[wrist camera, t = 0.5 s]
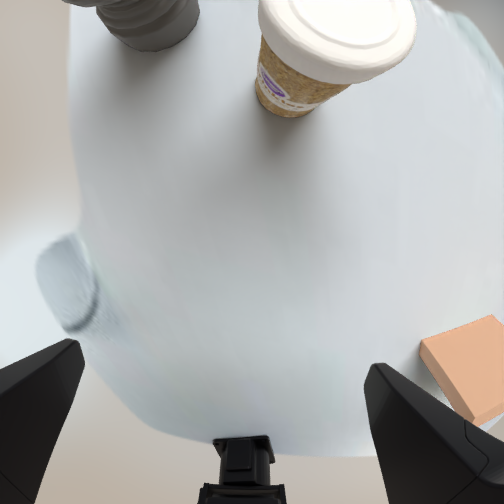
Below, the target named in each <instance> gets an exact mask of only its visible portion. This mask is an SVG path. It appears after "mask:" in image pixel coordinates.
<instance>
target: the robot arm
mask: <svg viewBox="0 0 504 504" xmlns="http://www.w3.org/2000/svg"><path fill="white" fill-rule="evenodd" d="M84 367H85V360H84V357H83V353H82V350H81V346H80V343H79V342H78V341H77V340H73V339H69V338H67V339H64V340H62V341H60V342H58V343H56V344H54V345H51V346H49V347H47V348H45V349H43V350H41V351H38V352H37V353H34V354H32V355H30V356H28V357H26V358H24V359H21V360H19V361H17V362H15V363H13V364H11V365H8V366H6V367H4V368H2V369H0V504H34V503H35V500H36V497H37V494H38V491H39V488H40V485H41V482H42V479H43V476H44V473H45V470H46V467H47V465H48V462H49V459H50V457H51V454H52V452H53V449H54V446H55V444H56V441H57V439H58V436H59V434H60V431H61V429H62V427H63V424H64V422H65V420H66V417H67V415H68V413H69V410H70V408H71V405H72V403H73V400H74V397H75V394H76V391H77V388H78V384H79V382H80V379H81V376H82V373H83V370H84ZM364 394H365V400H366V405H367V412H368V418H369V424H370V430H371V434H372V438H373V441H374V445H375V449H376V452H377V456H378V460H379V464H380V468H381V472H382V476H383V480H384V484H385V488H386V492H387V497H388V501H389V504H504V442H502V441H501V440H499V439H497V438H495V437H493V436H492V435H489V434H488V433H486V432H485V431H483V430H482V429H480V428H478V427H477V426H475V425H474V424H472V423H471V422H469V421H468V420H467V419H464V418H463V417H462V416H461V415H459V414H458V413H456V412H455V411H453V410H452V409H450V408H449V407H448V406H446V405H445V404H443V403H442V402H440V401H439V400H437V399H436V398H435V397H433V396H432V395H430V394H429V393H427V392H426V391H424V390H423V389H422V388H420V387H419V386H417V385H416V384H414V383H413V382H412V381H410V380H409V379H407V378H406V377H404V376H403V375H402V374H400V373H399V372H397V371H396V370H395V369H393V368H392V367H390V366H389V365H387V364H386V363H374V364H372V365H371V367H370V369H369V372H368V375H367V377H366V380H365V383H364ZM213 445H214V447H215V449H216V451H217V452H218V454H219V456H220V458H221V465H220V477H219V485H218V484H209V483H204V486H203V488H200V493H199V500H198V503H197V504H287V503H286V496H285V488H284V484H279V485H270V465H269V464H271V463H275V458H274V454H273V450H272V447H271V443H270V440H269V437H268V436H257V437H246V438H232V439H215V440H213Z"/></svg>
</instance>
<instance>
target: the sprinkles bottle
mask: <svg viewBox="0 0 504 504" xmlns="http://www.w3.org/2000/svg"><path fill="white" fill-rule="evenodd" d="M258 21H259V26H260V29H261V32H262V37H261V48H260V51H259V56H258V65H257V78H256V81H255V88H256V93H257V95H258V98H259V100H260V102H261V103H262V105H263V106H264V107H265V108H266V109H267V110H269V111H270V112H272V113H274V114H276V115H279V116H282V117H287V118H293V117H299V116H303V115H305V114H307V113H308V112H310V111H312V110H313V109H314V108H315V107H317V106H319V105H320V104H322V103H324V102H326V101H327V100H329V99H330V98H332V97H334V96H335V95H337V94H339V93H340V92H342V91H343V90H345V89H346V88H348V87H349V86H350V85H351V84H357V83H361V82H365V81H368V80H370V79H372V78H374V77H376V76H378V75H380V74H382V73H384V72H386V71H388V70H389V69H391V68H393V67H395V66H396V65H397V64H399V63H400V62H402V60H403V59H404V58H405V57H406V56H407V55H408V54H409V52H410V51H411V49H412V47H413V45H414V42H415V38H416V29H417V25H416V17H415V13H414V10H413V7H412V5H411V2H410V0H259V5H258Z"/></svg>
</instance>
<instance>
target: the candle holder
mask: <svg viewBox="0 0 504 504" xmlns="http://www.w3.org/2000/svg"><path fill="white" fill-rule="evenodd" d="M62 1H64V2H66V3H70V4H73V5H77V6H81V7H93V6H96V13H97V15H98V16H99V18H100V19H101V20H102V22H103V23H104V25H105V26H106V27H107V29H108V30H109V31H110V33H111V34H113V35H114V36H116V37H117V38H118V39H120V40H121V41H123V42H124V43H125V44H127V45H128V46H130V47H132V48H134V49H136V50H139V51H141V52H157V51H160V50H163V49H166V48H169V47H172V46H174V45H175V44H177V43H178V42H180V41H181V40H183V39H184V38H186V37H187V35H188V34H189V33H190V32H191V30H192V29H193V28H194V27H195V25H196V23H197V20H198V16H199V13H200V10H199V5H198V0H62Z"/></svg>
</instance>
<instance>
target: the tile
mask: <svg viewBox="0 0 504 504" xmlns="http://www.w3.org/2000/svg"><path fill="white" fill-rule="evenodd" d="M419 356H420V357H421V359H422V360H423V362H424V363H425V365H426V366H427V368H428V369H429V371H430V372H431V374H432V375H433V377H434V378H435V380H436V382H437V383H438V385H439V386H440V388H441V389H442V391H443V393H444V394H445V396H446V397H447V399H448V401H449V402H450V404H451V405H452V407H453V409H454V410H455V412H456V413H458V414H459V415H461V416H462V417H463V418H464V419H467V420H468V421H469V422H471V423H472V424H474V425H475V426H477V427H478V426H480V425H482V424H484V423H486V422H487V421H489V420H491V419H493V418H494V417H496V416H498V415H500V414H501V413H503V412H504V325H503V324H502V323H501V322H499V321H498V320H497V319H496V318H495V317H494V316H493V315H492V314H491V315H489V316H486V317H484V318H481V319H479V320H476V321H474V322H471V323H468V324H466V325H463V326H460V327H458V328H455V329H452V330H449V331H446V332H443V333H440V334H438V335H434V336H431V337H428V338H425V339H422V340H421V346H420V351H419Z"/></svg>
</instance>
